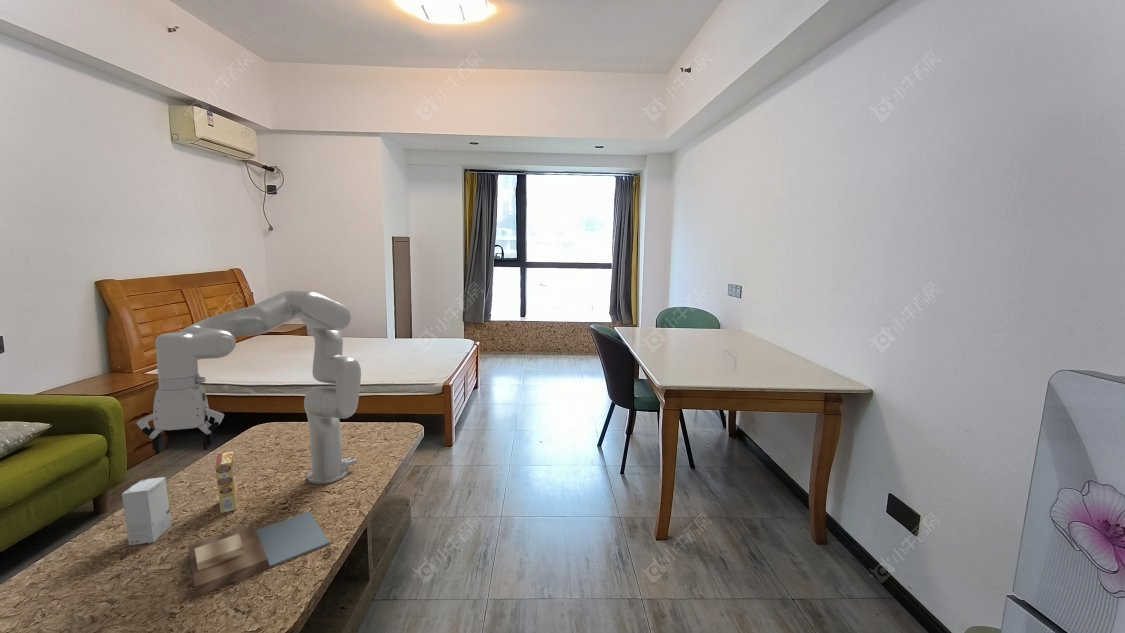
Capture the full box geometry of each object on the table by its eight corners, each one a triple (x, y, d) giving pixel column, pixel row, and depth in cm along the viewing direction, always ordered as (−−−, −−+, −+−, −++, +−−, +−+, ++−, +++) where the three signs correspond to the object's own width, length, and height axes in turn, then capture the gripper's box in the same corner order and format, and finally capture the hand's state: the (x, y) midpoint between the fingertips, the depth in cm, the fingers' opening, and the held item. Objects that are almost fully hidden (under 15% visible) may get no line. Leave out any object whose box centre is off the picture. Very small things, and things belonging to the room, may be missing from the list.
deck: (254, 532, 126) (253, 524, 126) (268, 568, 113) (267, 559, 112) (189, 554, 117) (188, 545, 117) (196, 596, 103) (195, 586, 103)
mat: (310, 513, 136) (309, 511, 136) (329, 544, 122) (329, 542, 122) (255, 532, 127) (255, 530, 127) (270, 567, 113) (269, 565, 113)
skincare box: (153, 543, 121) (147, 491, 119) (127, 546, 120) (119, 493, 118) (172, 525, 129) (167, 475, 127) (147, 527, 128) (141, 477, 126)
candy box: (237, 510, 137) (232, 461, 135) (219, 514, 135) (214, 465, 133) (238, 496, 145) (234, 450, 142) (221, 500, 142) (217, 453, 140)
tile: (239, 540, 119) (238, 533, 119) (244, 554, 114) (243, 546, 114) (195, 555, 113) (194, 548, 113) (198, 570, 108) (197, 563, 108)
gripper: (226, 377, 119) (230, 440, 120) (142, 381, 113) (148, 448, 115) (216, 384, 112) (220, 451, 113) (126, 389, 106) (132, 460, 108)
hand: (183, 450), depth 114 cm, fingers open, 9 cm apart
